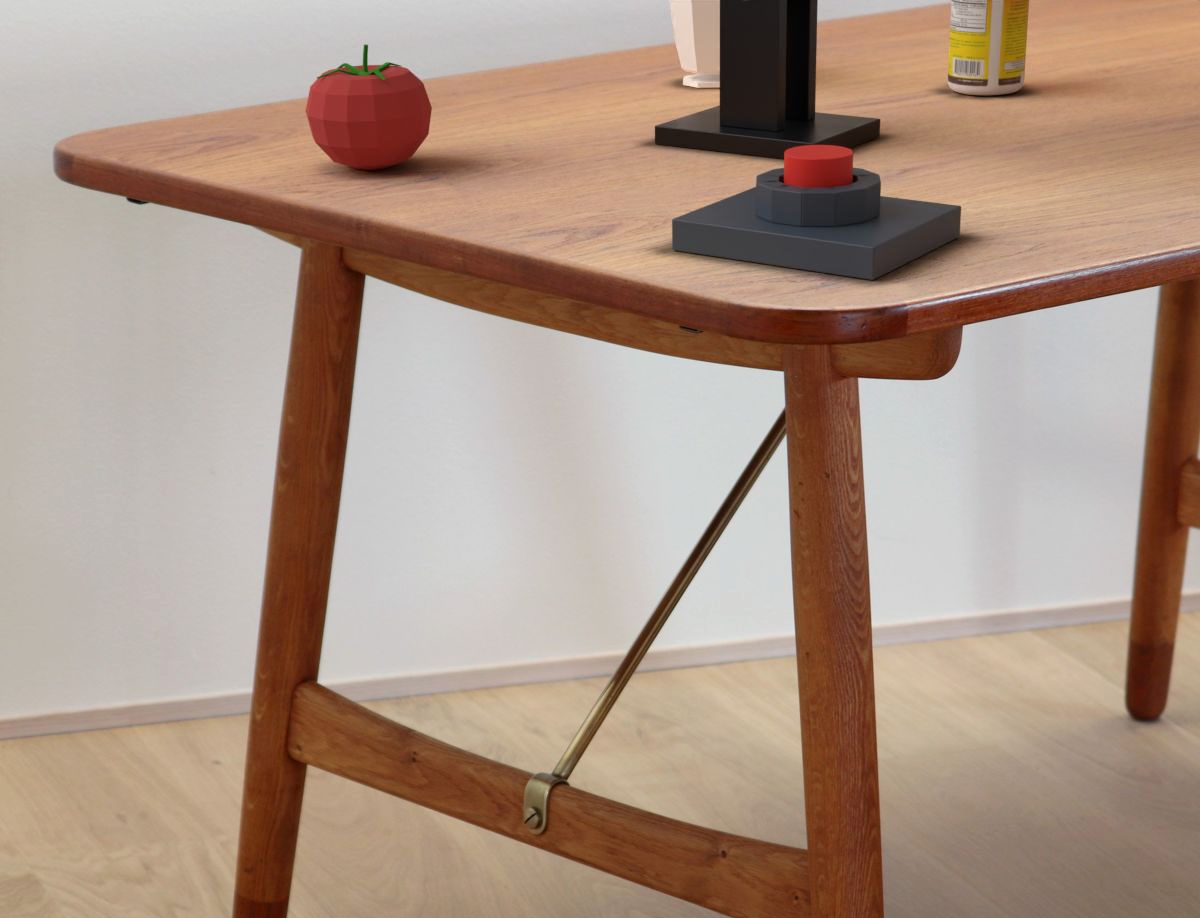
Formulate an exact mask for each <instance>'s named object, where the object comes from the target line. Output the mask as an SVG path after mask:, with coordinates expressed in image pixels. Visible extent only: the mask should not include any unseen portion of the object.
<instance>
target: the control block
mask: <svg viewBox="0 0 1200 918" xmlns="http://www.w3.org/2000/svg"><path fill="white" fill-rule="evenodd" d="M881 191H882V181H881V176H880V174H879V173H875V172H872V171H869V170H867V169H865V168H861V167H853V180H852V184H849V185H843V186H836V187H809V188H808V187H800V186H792V185H787V184H784V167H780V168H774V169H773V168H772V169H771V170H768V171H765V172H763V173H759V174H757V175H756V181H755V186H754V187H752V188H749V189H746V190H744V191H741V192H739V193H736V194H734V195H731V196H728V197H726V198H723V199H720V200H718V201H715V202H712V203H710V204H707V205H705V206H702V207H700V208H697V209H695V210H692V211H689V212H688V213H685V214H681V215H680V216H679V215H678V216H677V217H674V218H672V219H671V248H672V251H677V252H684V253H690V254H697V255H703V256H711V257H717V258H724V259H728V260H729V259H730V260H736V261H743V262H750V263H756V264H763V265H770V266H776V267H784V268H790V269H798V270H803V271H809V272H815V273H816V272H817V273H824V274H829V275H837V276H843V277H848V278H849V277H851V278H857V279H861V280H862V279H863V280H864V279H865V280H870V281H874V280H877V278H880V277H882V276H884V275H886V274H888V273H890V272H892V271H894V270H896V269H898V268H900V267H902V266H903V265H906V264H907V263H910V262H911V261H914V260H916V259H919V258H920V257H922V256H923V255H926V254H928V253H929V252H932V251H935V250H936V249H938V248H940V247H941V246H944V245H946V244H947V243H949V242H952V241H954V240H956V239H957V238H960V235H961V220H962V219H961V218H962V206H961V205H956V204H950V203H949V204H948V203H940V202H933V201H926V200H925V201H924V200H916V199H909V198H900V197H891V196H885V195H884V196H883V195H882V194H881Z"/></svg>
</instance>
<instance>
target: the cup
mask: <svg viewBox="0 0 1200 918" xmlns="http://www.w3.org/2000/svg"><path fill="white" fill-rule="evenodd" d="M668 1H669V8H670V14H671V23H672V28H673V37H674V43H675V47H676V52H677V55H678V60H679V64H680V68H681V70H682V71H684V72H686V73H691V74H689V75H684V76H683V79H682V85H683V86H687V87H690V88H691V87H692V88H696V89H697V88H699V89H703V88H705V89H706V88H707V89H709V88H710V89H711V88H719V89H720V0H668Z"/></svg>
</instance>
